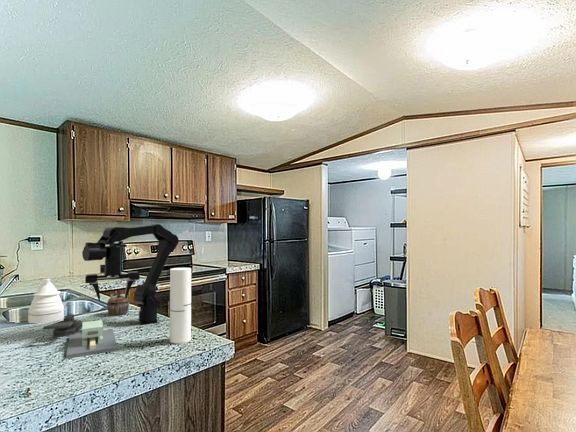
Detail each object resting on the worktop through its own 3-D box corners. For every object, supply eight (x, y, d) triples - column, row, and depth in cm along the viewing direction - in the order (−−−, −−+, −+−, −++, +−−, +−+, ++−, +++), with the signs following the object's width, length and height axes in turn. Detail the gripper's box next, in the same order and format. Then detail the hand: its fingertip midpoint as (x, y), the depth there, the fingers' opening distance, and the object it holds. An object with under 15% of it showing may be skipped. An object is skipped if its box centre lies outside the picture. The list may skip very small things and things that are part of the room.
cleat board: (112, 331, 134) (112, 325, 134) (117, 350, 113) (117, 343, 113) (69, 337, 127) (69, 331, 127) (66, 358, 106) (66, 351, 106)
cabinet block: (101, 335, 126) (101, 320, 126) (102, 343, 116) (103, 327, 117) (82, 338, 123) (82, 322, 123) (82, 346, 114) (82, 329, 114)
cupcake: (132, 314, 162) (132, 292, 163) (110, 317, 156) (110, 295, 156) (125, 310, 170) (125, 289, 170) (103, 314, 163) (104, 292, 163)
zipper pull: (40, 327, 117) (58, 311, 141) (40, 347, 117) (58, 327, 140) (71, 324, 121) (84, 309, 144) (71, 343, 120) (83, 325, 144)
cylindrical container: (194, 339, 123) (195, 268, 124) (176, 344, 118) (176, 270, 119) (184, 335, 128) (184, 267, 129) (165, 340, 123) (166, 268, 124)
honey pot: (63, 320, 151) (64, 279, 152) (26, 325, 144) (27, 281, 145) (63, 314, 162) (64, 275, 163) (29, 318, 155) (30, 278, 156)
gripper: (136, 256, 148) (136, 293, 148) (85, 258, 139) (85, 298, 138) (139, 258, 139) (139, 298, 138) (85, 260, 129) (84, 303, 129)
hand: (112, 299), depth 136 cm, fingers open, 9 cm apart
